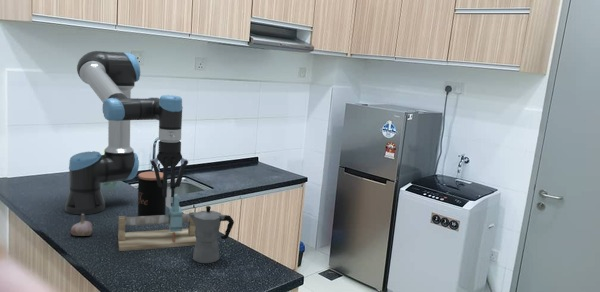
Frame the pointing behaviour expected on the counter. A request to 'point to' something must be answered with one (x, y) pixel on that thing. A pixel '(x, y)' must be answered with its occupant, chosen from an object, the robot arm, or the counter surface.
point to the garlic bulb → (82, 228)
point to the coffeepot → (208, 234)
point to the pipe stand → (154, 233)
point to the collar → (175, 215)
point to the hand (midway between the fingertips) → (168, 205)
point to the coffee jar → (150, 195)
